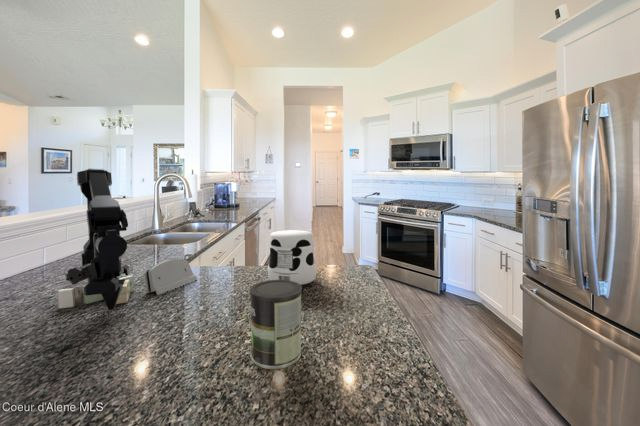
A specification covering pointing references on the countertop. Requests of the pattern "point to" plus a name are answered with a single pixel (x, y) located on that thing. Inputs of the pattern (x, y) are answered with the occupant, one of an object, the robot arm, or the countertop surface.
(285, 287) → the coffee can
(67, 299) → the wall stub
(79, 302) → the gate post
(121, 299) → the block
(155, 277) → the grey curved upright block
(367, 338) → the countertop surface
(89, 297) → the door
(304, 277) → the milk container
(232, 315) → the countertop surface
